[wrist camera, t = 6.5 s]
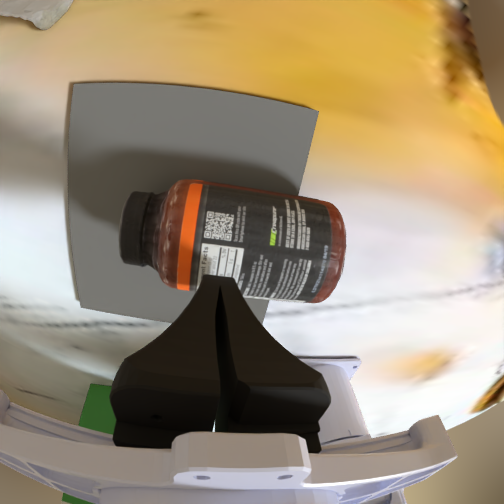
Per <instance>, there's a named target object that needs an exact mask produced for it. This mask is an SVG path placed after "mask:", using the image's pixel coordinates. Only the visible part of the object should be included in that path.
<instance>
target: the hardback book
mask: <svg viewBox="0 0 504 504" xmlns="http://www.w3.org/2000/svg"><path fill="white" fill-rule="evenodd" d="M111 387H112V386H105V385H97V384H91V385H90V388H89V391H88V394H87V397H86V401H85V404H84V407H83V411H82V414H81V418H80V421H79V425H78V426H80V427H83V428H87V429H91V430H95V431H99V432H103V433H107V434H111V435H113V433H114V428H115V423H116V418H115V415H114V412H113V410H112V407H111V404H110V399H109V395H110V391H111ZM62 504H94V503H91V502H88V501H85V500H82V499H79V498H77V497H74V496H71V495H69V494H66V493H64V492H63V497H62Z"/></svg>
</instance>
